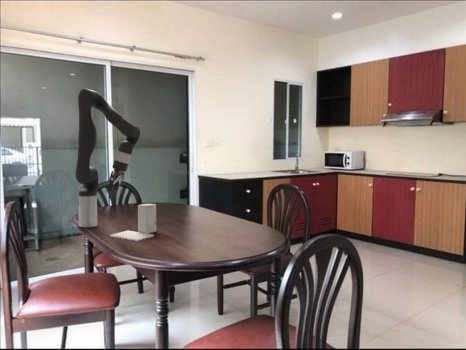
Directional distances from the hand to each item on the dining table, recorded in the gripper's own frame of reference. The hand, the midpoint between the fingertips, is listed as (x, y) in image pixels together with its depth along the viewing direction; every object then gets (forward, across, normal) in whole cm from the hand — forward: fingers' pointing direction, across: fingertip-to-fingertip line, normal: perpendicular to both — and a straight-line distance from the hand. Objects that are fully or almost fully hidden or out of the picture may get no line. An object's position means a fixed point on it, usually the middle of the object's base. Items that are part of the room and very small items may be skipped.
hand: (112, 190), depth 198 cm
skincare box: (+16, -2, +24) cm, 29 cm away
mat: (+18, +8, +19) cm, 28 cm away
